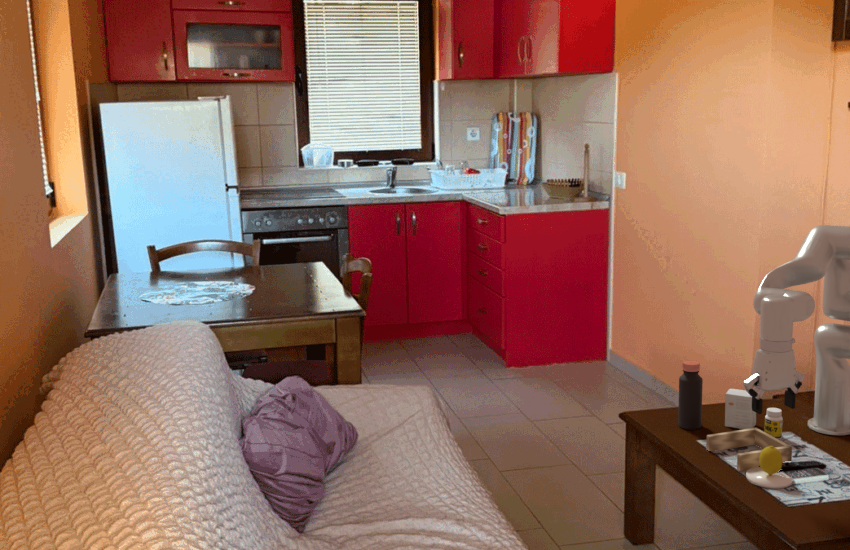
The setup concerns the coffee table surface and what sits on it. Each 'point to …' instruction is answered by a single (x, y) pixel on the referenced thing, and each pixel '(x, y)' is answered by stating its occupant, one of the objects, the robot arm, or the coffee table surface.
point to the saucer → (767, 479)
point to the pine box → (746, 439)
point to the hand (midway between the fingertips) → (773, 409)
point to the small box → (739, 409)
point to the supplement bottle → (774, 422)
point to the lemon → (770, 460)
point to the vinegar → (690, 396)
